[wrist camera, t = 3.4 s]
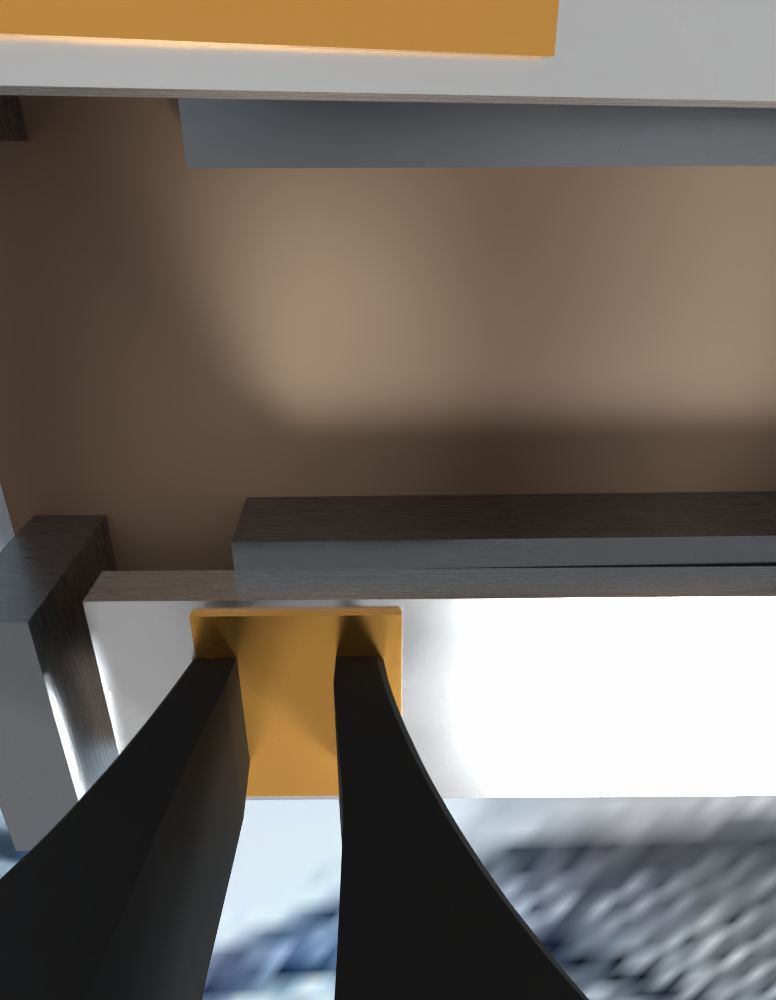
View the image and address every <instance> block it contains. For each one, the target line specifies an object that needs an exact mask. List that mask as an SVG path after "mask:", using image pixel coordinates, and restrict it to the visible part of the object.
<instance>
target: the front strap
mask: <svg viewBox="0 0 776 1000" xmlns="http://www.w3.org/2000/svg"><path fill="white" fill-rule="evenodd" d="M0 95H19V96H79V97H139V98H199V99H259V100H319V101H380V102H440V103H500V104H560V105H620V106H680V107H740V108H776V0H0Z"/></svg>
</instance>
